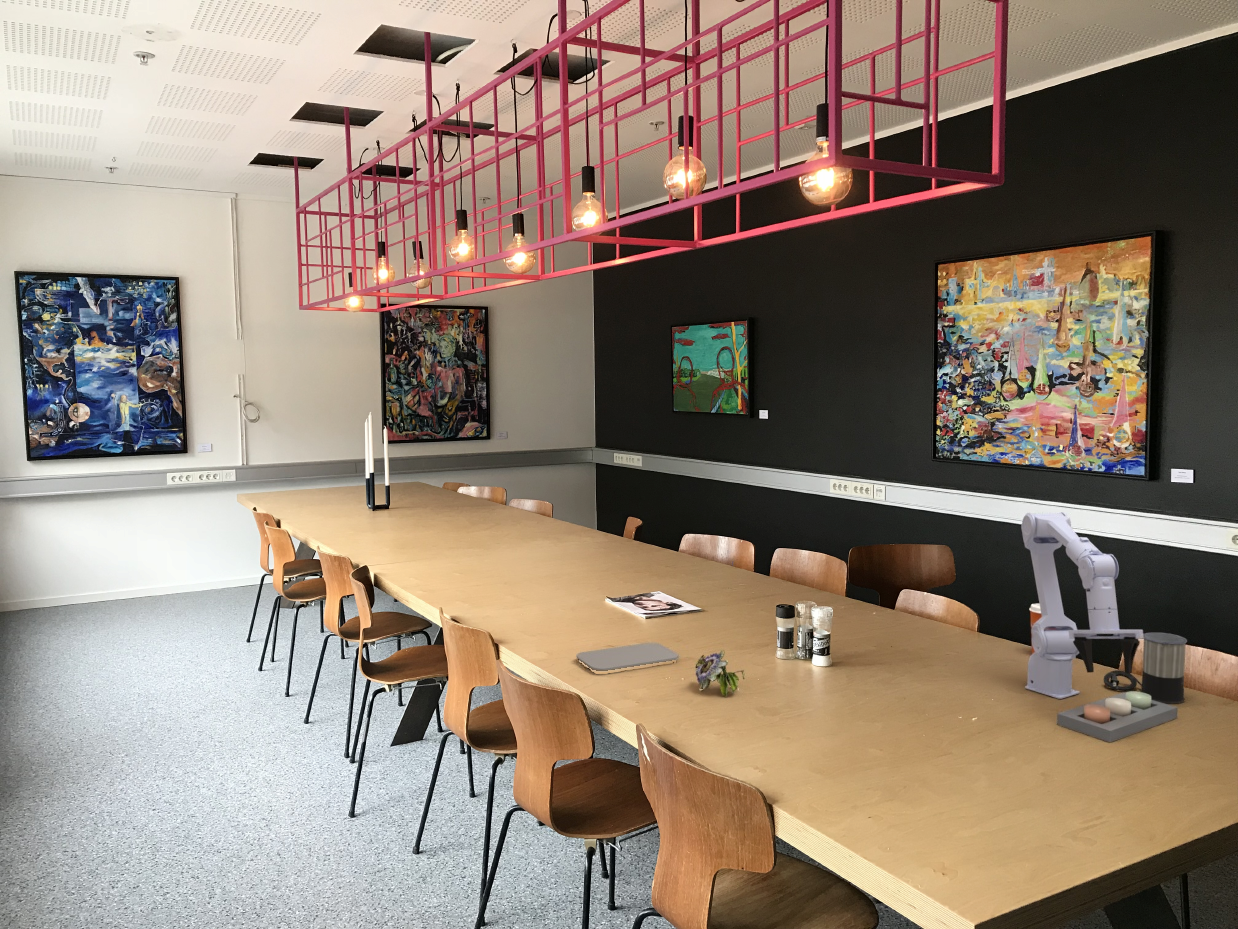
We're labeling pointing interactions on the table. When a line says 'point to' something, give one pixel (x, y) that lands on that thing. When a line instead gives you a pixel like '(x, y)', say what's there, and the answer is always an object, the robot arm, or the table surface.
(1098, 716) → the button terracotta
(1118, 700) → the button cream
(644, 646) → the tablet
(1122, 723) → the button board
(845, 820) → the table surface
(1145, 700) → the button sage
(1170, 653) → the milk frother
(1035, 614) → the paper cup
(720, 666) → the passion flower
